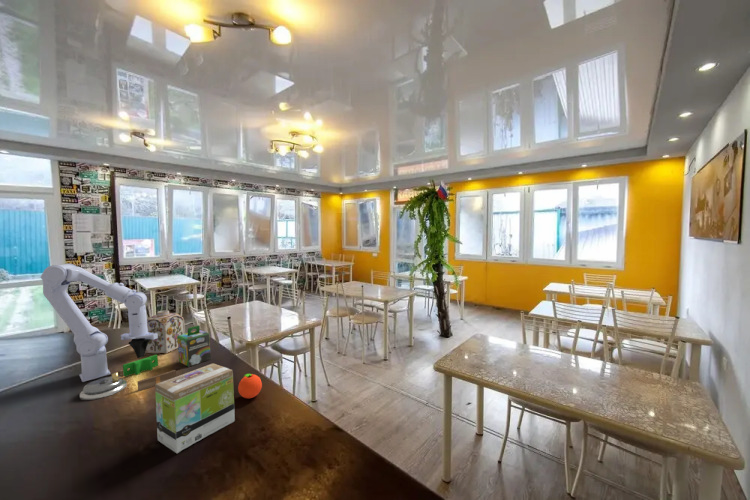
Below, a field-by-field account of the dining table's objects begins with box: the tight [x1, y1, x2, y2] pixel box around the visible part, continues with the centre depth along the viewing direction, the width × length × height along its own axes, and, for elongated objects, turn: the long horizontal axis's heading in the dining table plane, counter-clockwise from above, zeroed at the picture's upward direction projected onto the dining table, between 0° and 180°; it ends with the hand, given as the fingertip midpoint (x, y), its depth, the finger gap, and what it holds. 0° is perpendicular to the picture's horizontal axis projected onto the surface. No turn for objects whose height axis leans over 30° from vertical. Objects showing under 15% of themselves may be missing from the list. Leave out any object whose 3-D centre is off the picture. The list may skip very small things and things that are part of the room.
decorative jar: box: [145, 309, 186, 354], centre depth 144 cm, size 12×12×18 cm
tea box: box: [154, 363, 236, 454], centre depth 80 cm, size 15×10×15 cm
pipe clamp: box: [122, 354, 159, 377], centre depth 120 cm, size 11×4×5 cm, turn 148°
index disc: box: [82, 371, 126, 395], centre depth 105 cm, size 10×10×4 cm
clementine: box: [237, 373, 263, 399], centre depth 97 cm, size 8×7×7 cm
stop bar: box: [137, 369, 177, 392], centre depth 108 cm, size 1×11×3 cm, turn 139°
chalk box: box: [177, 325, 212, 368], centre depth 128 cm, size 9×9×15 cm
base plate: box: [79, 379, 128, 401], centre depth 105 cm, size 12×12×1 cm
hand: (141, 356), depth 123 cm, fingers closed
